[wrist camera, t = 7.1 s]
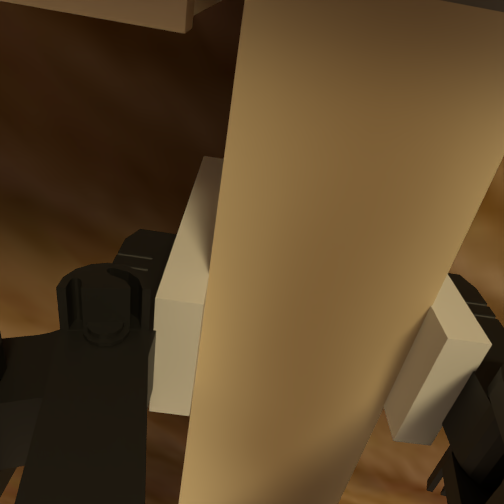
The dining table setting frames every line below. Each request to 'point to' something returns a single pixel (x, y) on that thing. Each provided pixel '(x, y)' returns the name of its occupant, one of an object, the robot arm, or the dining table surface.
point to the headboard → (131, 11)
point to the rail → (334, 230)
